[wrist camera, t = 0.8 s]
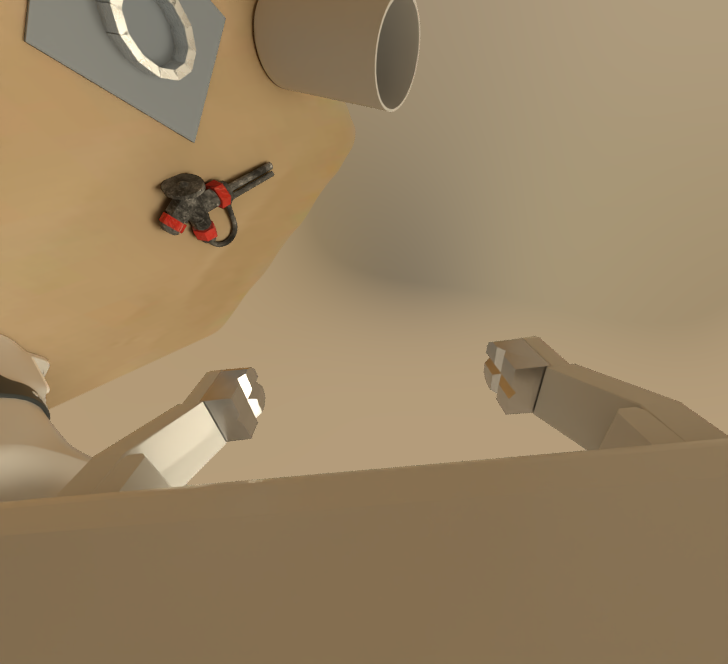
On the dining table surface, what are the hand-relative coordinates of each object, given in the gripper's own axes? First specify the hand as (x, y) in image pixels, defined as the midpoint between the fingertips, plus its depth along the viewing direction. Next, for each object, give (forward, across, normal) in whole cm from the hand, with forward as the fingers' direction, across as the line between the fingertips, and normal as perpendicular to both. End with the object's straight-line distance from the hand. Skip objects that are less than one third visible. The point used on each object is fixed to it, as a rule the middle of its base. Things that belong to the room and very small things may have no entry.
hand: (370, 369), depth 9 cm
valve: (+53, -28, +5) cm, 60 cm away
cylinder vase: (+61, -11, +28) cm, 68 cm away
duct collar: (+43, -25, +26) cm, 56 cm away
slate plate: (+43, -25, +26) cm, 56 cm away
